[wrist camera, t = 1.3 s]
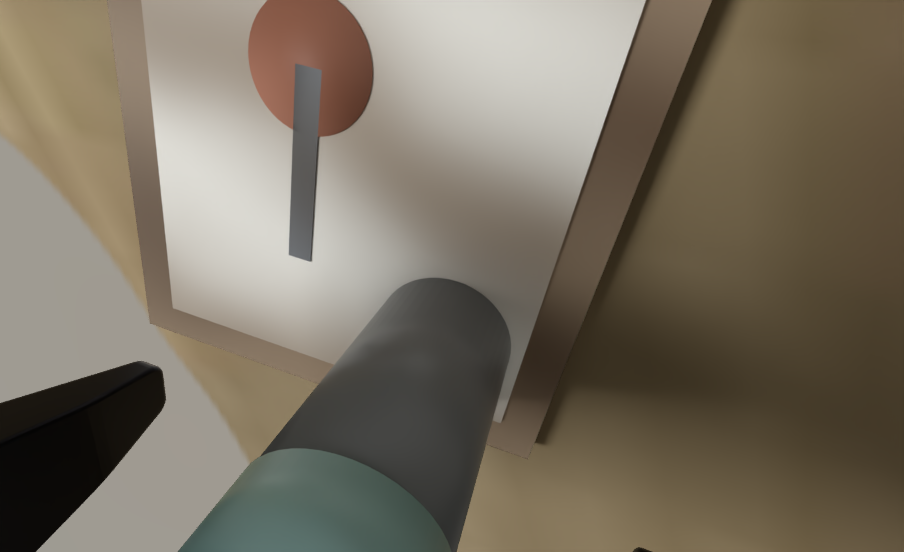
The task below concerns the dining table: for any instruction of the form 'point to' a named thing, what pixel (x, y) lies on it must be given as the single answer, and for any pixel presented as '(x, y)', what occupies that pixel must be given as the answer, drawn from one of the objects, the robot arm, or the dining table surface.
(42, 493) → the robot arm
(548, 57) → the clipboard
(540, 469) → the dining table surface
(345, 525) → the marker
